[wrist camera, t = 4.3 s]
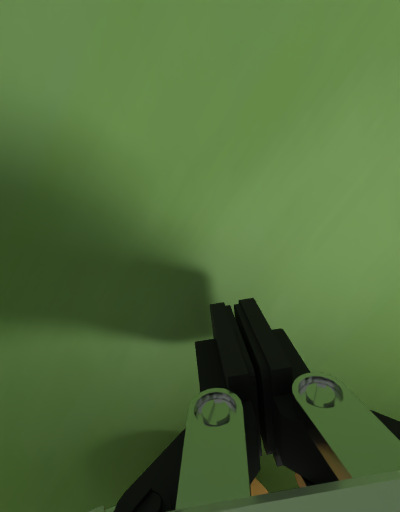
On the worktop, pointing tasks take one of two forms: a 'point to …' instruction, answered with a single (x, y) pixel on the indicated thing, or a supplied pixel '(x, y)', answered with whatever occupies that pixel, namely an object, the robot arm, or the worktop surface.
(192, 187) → the worktop surface
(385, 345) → the worktop surface
